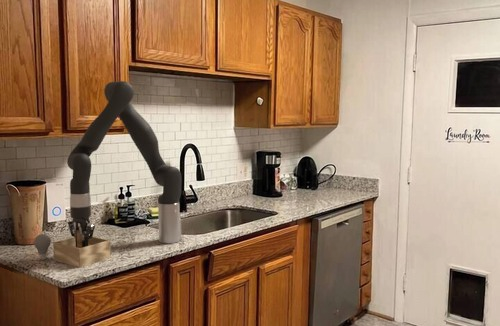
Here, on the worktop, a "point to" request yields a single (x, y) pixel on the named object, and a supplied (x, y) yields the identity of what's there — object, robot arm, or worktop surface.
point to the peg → (79, 239)
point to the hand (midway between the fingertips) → (82, 248)
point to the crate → (81, 251)
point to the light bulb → (42, 245)
